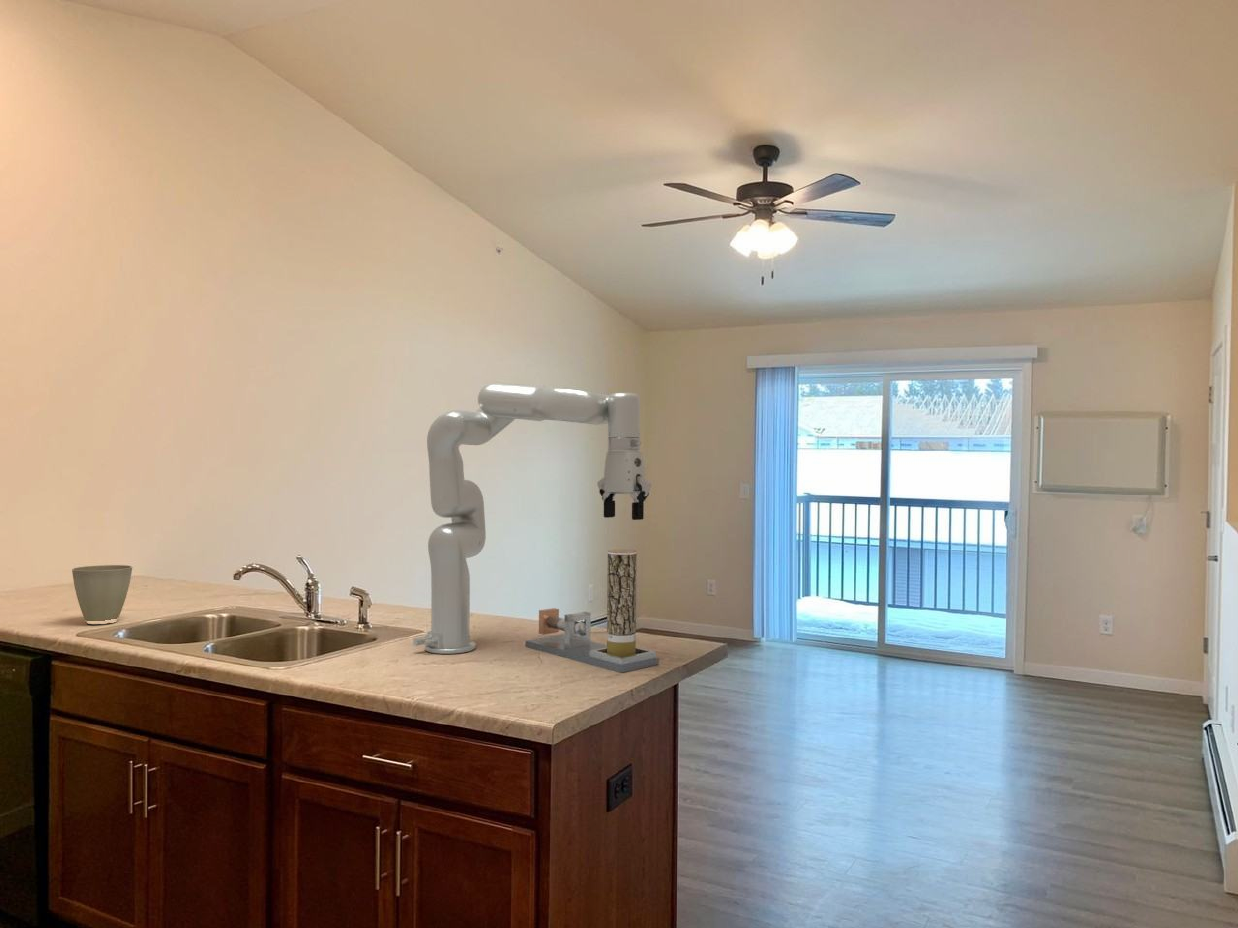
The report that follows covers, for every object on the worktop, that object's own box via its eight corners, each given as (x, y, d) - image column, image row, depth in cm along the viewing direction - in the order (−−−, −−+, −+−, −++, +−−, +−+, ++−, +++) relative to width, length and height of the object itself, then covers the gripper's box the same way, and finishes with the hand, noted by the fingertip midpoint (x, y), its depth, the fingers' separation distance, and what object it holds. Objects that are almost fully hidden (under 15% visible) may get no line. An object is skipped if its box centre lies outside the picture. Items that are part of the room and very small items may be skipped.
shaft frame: (621, 672, 192) (621, 630, 192) (525, 646, 219) (525, 609, 219) (658, 664, 201) (659, 623, 201) (561, 639, 227) (562, 604, 227)
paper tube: (614, 661, 196) (615, 553, 196) (601, 655, 203) (602, 550, 202) (640, 658, 200) (641, 551, 200) (627, 652, 206) (628, 549, 206)
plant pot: (124, 626, 240) (124, 570, 240) (63, 629, 236) (64, 571, 236) (138, 617, 254) (138, 563, 254) (81, 619, 250) (81, 565, 250)
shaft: (573, 642, 210) (573, 617, 210) (538, 633, 220) (538, 610, 220) (589, 639, 214) (589, 615, 214) (553, 630, 224) (554, 608, 224)
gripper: (661, 445, 197) (660, 519, 197) (610, 446, 210) (610, 515, 210) (637, 445, 192) (637, 521, 192) (587, 445, 205) (587, 517, 205)
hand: (623, 518), depth 201 cm, fingers open, 9 cm apart
